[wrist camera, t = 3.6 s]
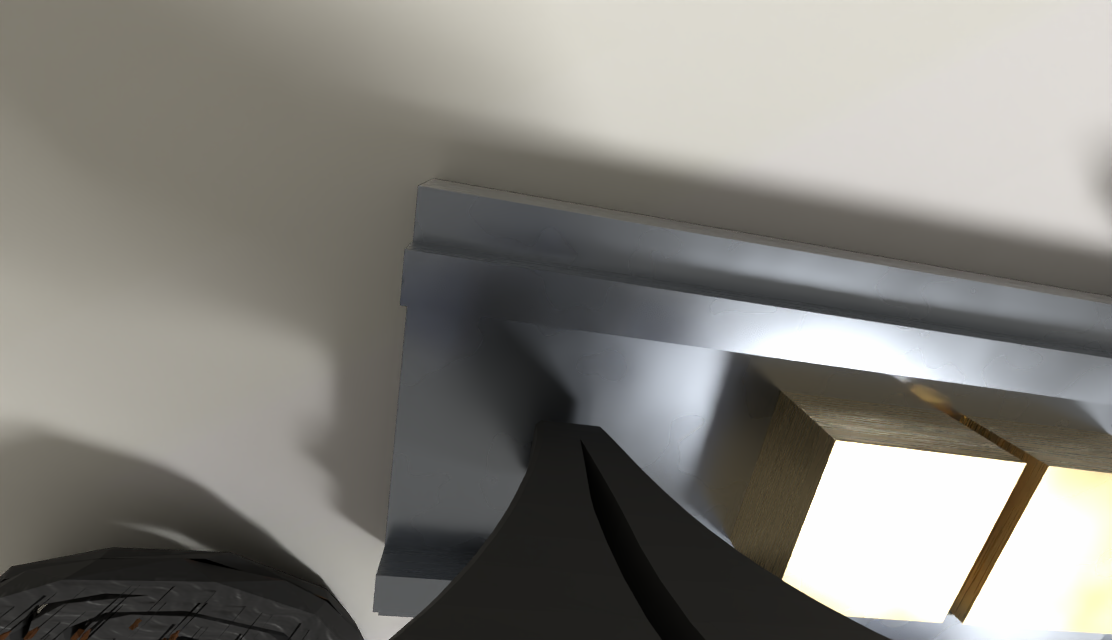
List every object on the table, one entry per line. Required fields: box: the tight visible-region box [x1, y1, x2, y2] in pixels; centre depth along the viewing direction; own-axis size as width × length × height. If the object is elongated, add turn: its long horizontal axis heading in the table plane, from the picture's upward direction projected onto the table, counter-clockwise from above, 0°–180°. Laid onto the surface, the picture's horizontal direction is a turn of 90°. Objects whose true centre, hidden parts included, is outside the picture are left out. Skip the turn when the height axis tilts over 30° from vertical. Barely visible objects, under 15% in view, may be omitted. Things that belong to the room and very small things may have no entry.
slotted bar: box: [373, 179, 1112, 640], centre depth 13 cm, size 18×10×3 cm, turn 80°
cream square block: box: [730, 391, 1027, 623], centre depth 11 cm, size 4×4×2 cm
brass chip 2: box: [949, 415, 1112, 634], centre depth 12 cm, size 4×4×2 cm
